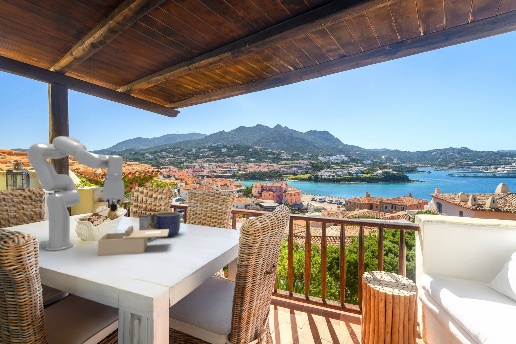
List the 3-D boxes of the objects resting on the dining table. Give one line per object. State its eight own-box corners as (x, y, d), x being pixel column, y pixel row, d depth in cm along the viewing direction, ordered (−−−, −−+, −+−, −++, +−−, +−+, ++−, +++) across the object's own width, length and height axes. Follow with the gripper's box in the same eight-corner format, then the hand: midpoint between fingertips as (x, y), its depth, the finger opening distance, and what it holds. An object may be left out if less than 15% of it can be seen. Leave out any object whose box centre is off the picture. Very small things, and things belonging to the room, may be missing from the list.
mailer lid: (122, 238, 145) (122, 231, 145) (128, 231, 160) (128, 225, 160) (167, 236, 151) (167, 230, 151) (169, 230, 166) (169, 224, 166)
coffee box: (147, 238, 178) (147, 213, 177) (156, 238, 176) (156, 214, 176) (138, 242, 169) (138, 216, 168) (148, 242, 167) (148, 216, 167)
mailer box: (98, 255, 143) (98, 240, 142) (106, 247, 157) (106, 233, 157) (143, 252, 148) (143, 238, 148) (147, 245, 163) (147, 231, 162)
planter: (170, 239, 174) (170, 216, 174) (148, 237, 180) (148, 214, 179) (184, 233, 190) (185, 212, 190) (164, 231, 195) (165, 210, 195)
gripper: (97, 178, 145) (96, 212, 145) (127, 178, 149) (126, 212, 149) (101, 177, 152) (100, 210, 153) (130, 178, 156) (129, 210, 156)
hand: (113, 211), depth 151 cm, fingers closed
